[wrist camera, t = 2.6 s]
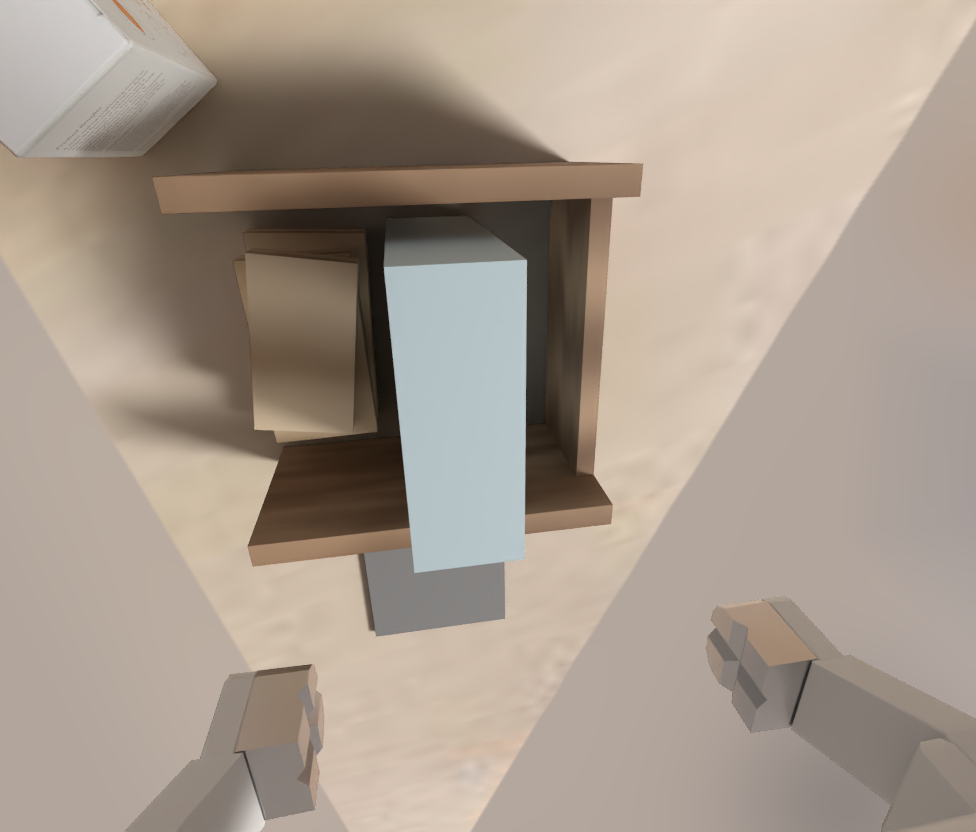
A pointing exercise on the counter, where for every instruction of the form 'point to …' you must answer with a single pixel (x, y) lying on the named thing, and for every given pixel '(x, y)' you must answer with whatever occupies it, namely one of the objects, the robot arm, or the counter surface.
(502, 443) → the pale blue upright block
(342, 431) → the offcut stack
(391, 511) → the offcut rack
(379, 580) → the rubber mat
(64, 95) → the small box
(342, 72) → the counter surface
